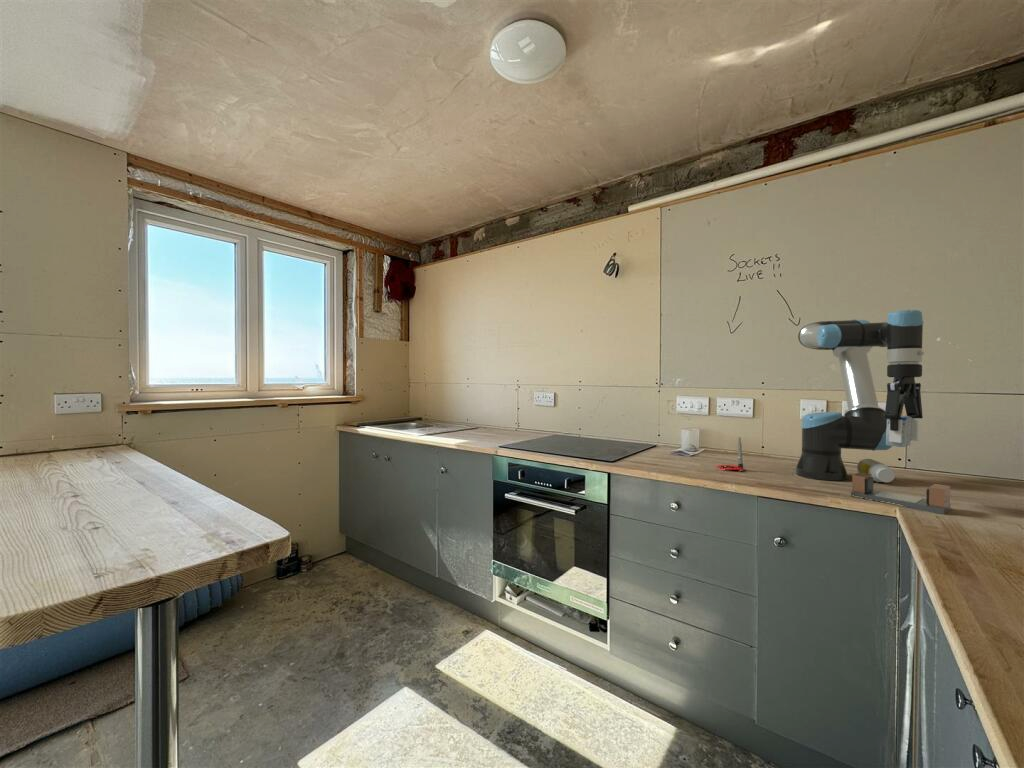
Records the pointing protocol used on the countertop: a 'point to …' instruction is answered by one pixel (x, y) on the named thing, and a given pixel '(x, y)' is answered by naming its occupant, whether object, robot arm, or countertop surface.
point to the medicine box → (905, 432)
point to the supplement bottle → (876, 470)
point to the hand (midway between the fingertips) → (903, 441)
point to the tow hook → (740, 460)
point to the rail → (933, 503)
